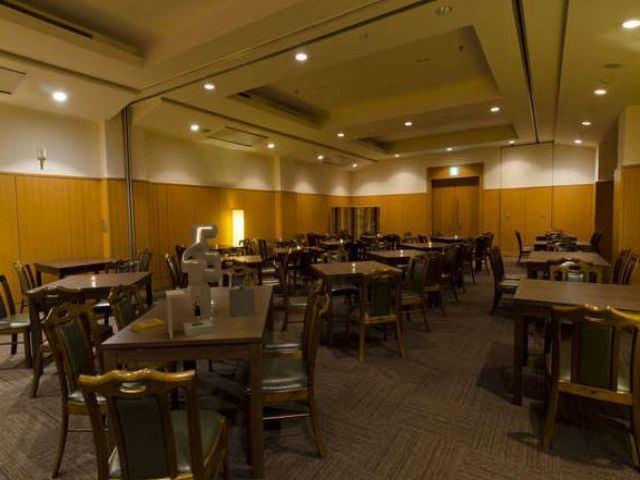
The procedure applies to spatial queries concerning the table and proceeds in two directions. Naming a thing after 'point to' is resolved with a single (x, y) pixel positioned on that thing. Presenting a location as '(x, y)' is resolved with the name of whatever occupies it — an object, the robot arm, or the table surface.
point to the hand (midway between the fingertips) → (197, 314)
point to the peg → (197, 318)
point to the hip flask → (242, 302)
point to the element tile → (147, 325)
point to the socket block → (188, 327)
